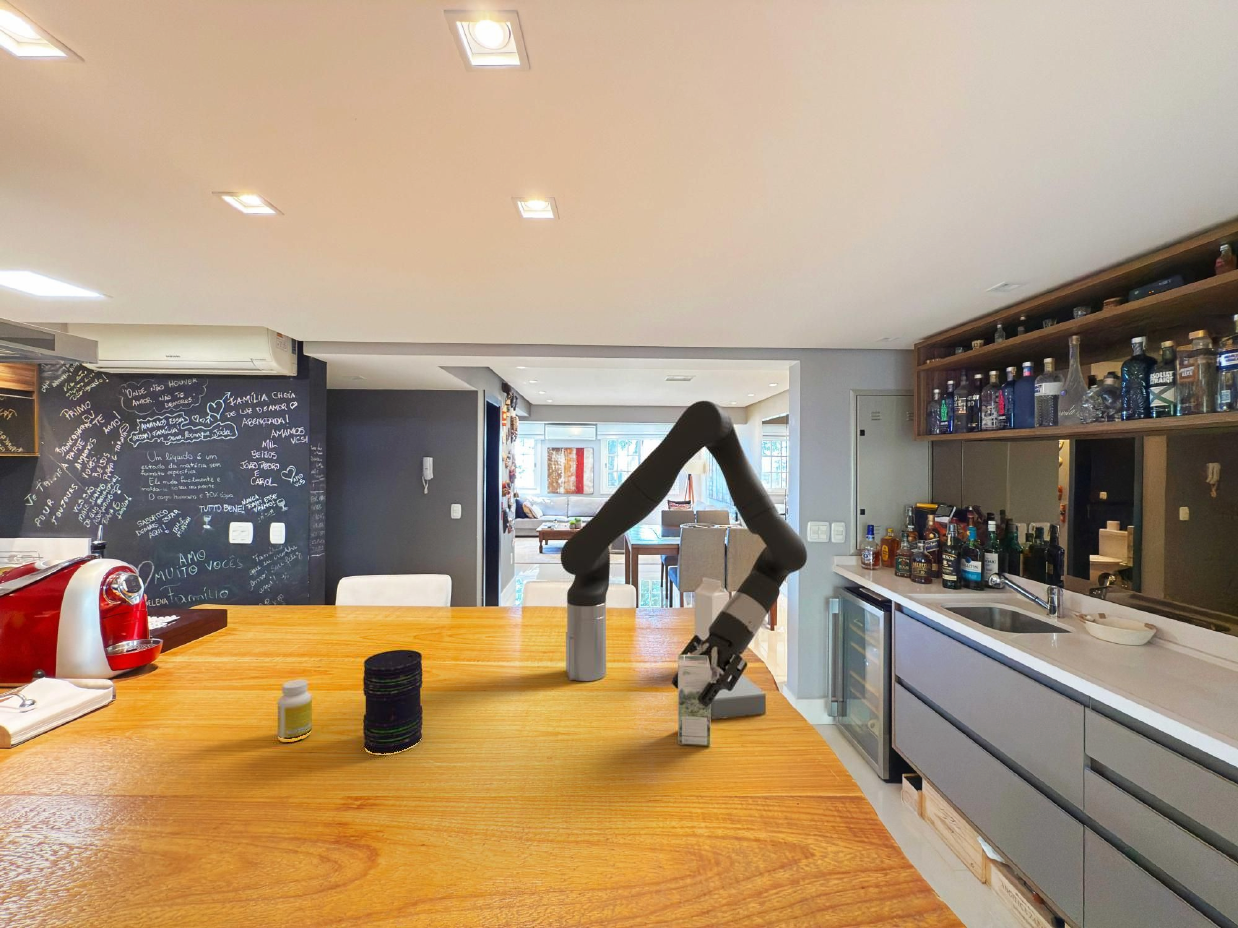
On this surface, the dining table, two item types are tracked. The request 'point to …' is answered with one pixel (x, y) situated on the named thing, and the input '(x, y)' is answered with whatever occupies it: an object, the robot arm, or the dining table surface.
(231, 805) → the dining table surface
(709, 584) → the milk
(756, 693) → the podium
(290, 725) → the supplement bottle
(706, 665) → the syrup box
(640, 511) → the robot arm
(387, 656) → the storage jar
